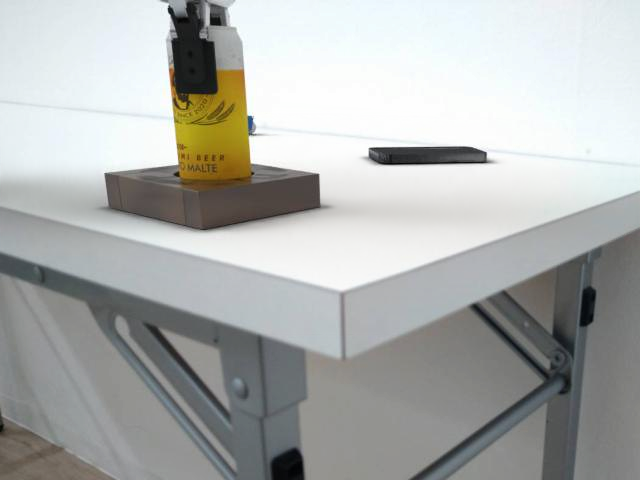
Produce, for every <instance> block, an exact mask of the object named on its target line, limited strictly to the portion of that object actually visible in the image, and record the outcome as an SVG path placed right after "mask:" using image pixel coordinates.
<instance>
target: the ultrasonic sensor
mask: <svg viewBox="0 0 640 480" xmlns="http://www.w3.org/2000/svg"><path fill="white" fill-rule="evenodd" d="M247 117H248V131H249V135H252V134H254V133H255V132H256V130H257V125H256V123H255V122H254V119H255V118H254V115H247Z"/></svg>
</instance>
